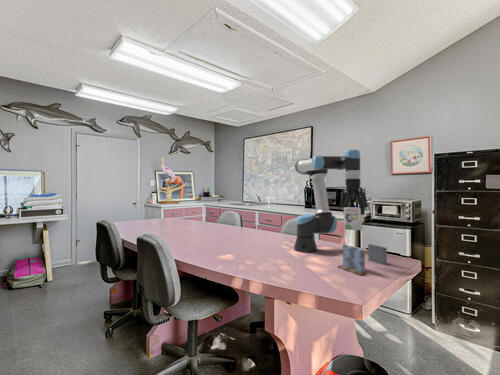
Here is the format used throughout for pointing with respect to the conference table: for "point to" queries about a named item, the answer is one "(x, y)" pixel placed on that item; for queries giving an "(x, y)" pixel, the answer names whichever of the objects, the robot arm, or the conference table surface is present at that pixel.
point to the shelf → (353, 260)
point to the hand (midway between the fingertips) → (353, 219)
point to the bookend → (377, 254)
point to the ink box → (352, 218)
